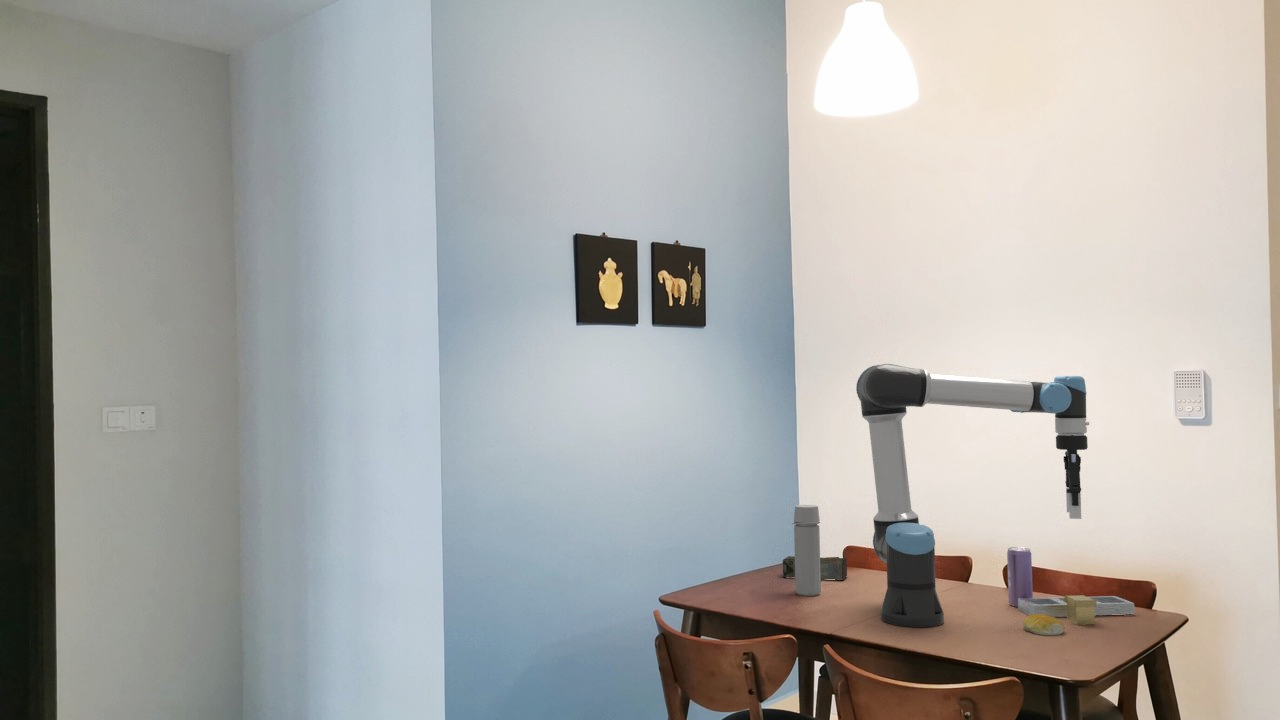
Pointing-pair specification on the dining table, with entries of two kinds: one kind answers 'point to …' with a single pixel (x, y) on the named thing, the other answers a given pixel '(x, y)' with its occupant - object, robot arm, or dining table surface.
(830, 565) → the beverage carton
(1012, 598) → the beverage can
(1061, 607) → the grey compartment tray
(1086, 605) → the pale yellow block
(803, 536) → the water bottle
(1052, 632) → the bread roll
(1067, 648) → the dining table surface
